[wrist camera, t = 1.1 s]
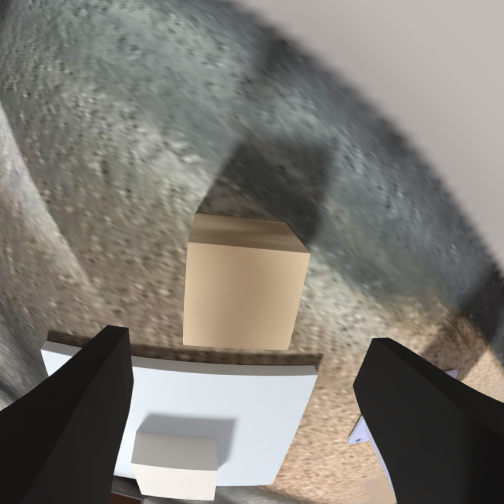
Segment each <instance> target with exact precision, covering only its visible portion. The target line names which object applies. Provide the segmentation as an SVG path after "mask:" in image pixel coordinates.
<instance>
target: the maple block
mask: <svg viewBox="0 0 504 504" xmlns="http://www.w3.org/2000/svg"><path fill="white" fill-rule="evenodd" d="M310 254H311V253H310V252H309V251H308V250H307V248H306V247H305V246H304V245H303V244H302V242H301V241H300V240H299V239H298V237H297V236H296V235H295V234H294V233H293V231H292V230H291V229H290V228H289V226H288V225H287V224H286V223H285V222H277V221H269V220H260V219H250V218H241V217H231V216H222V215H211V214H201V213H195V216H194V220H193V224H192V228H191V232H190V237H189V241H188V251H187V266H186V283H185V302H184V328H183V345H193V346H206V347H222V348H241V349H270V350H288V347H289V344H290V340H291V336H292V332H293V328H294V324H295V320H296V316H297V311H298V307H299V303H300V299H301V295H302V290H303V286H304V281H305V277H306V273H307V268H308V264H309V259H310Z"/></svg>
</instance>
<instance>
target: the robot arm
mask: <svg viewBox="0 0 504 504" xmlns="http://www.w3.org/2000/svg"><path fill="white" fill-rule="evenodd" d="M457 375H458V372H457V371H456V370H451V371H446V372H444V371H442V370H441V369H439V368H437V367H436V366H434V365H433V364H431V363H430V362H428V361H427V360H425V359H423V358H422V357H420V356H419V355H417V354H416V353H414V352H413V351H411V350H409V349H408V348H406V347H405V346H403V345H401V344H400V343H398V342H396V341H394V340H392V339H390V338H388V337H387V338H373V339H372V341H371V344H370V346H369V349H368V351H367V354H366V356H365V358H364V361H363V363H362V365H361V368H360V370H359V372H358V375H357V377H356V379H355V381H354V383H353V388H354V392H355V396H356V399H357V402H358V405H359V408H360V411H361V414H362V416H361V418H360V419H359V421H358V423H357V425H356V426H355V428H354V430H353V431H352V433H351V435H350V436H349V438H348V443H349V444H354V443H360V442H365V441H370V443H371V445H372V448H373V450H374V452H375V454H376V456H377V458H378V460H379V462H380V464H381V467H382V469H383V471H384V473H385V475H386V477H387V479H388V481H389V483H390V485H391V488H392V490H393V492H394V494H395V496H396V500H397V502H396V503H395V504H504V403H503V402H500V401H498V400H495V399H493V398H491V397H489V396H487V395H485V394H483V393H480V392H478V391H476V390H475V389H473V388H471V387H469V386H467V385H465V384H464V383H462V382H460V381H459V380H457V379H455V378H456V377H457ZM133 386H134V376H133V368H132V359H131V350H130V340H129V328H126V327H118V326H111V325H107V326H106V327H105V328H104V329H103V330H102V331H100V332H99V333H98V334H97V335H96V336H95V337H94V338H93V339H91V340H90V341H89V342H88V343H87V344H86V345H85V346H84V347H83V348H82V349H80V350H79V351H78V352H77V353H76V354H75V355H74V356H73V357H71V358H70V359H69V360H68V361H67V362H66V363H65V364H63V365H62V366H61V367H60V368H59V369H58V370H57V371H55V372H54V373H53V374H52V375H50V376H49V377H48V378H47V379H45V380H44V381H43V382H42V383H40V384H39V385H38V386H37V387H35V388H34V389H33V390H31V391H30V392H29V393H27V394H26V395H24V396H23V397H21V398H20V399H18V400H17V401H15V402H14V403H12V404H11V405H9V406H8V407H6V408H4V409H3V410H1V411H0V504H110V499H111V487H112V481H113V475H114V470H115V466H116V462H117V458H118V454H119V450H120V446H121V442H122V438H123V434H124V431H125V427H126V423H127V419H128V415H129V412H130V406H131V399H132V392H133Z"/></svg>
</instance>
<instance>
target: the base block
mask: <svg viewBox="0 0 504 504" xmlns="http://www.w3.org/2000/svg"><path fill="white" fill-rule="evenodd" d="M131 465H132V468H133V471H134V474H135V477H136V480H137V483H138V485H139V488H140V491H141V493H142V494H143V495H150V496H158V497H167V498H178V499H193V500H214V494H215V487H216V480H217V473H218V467H217V451H216V439H210V438H192V437H178V436H168V435H158V434H150V433H142V432H136V435H135V440H134V446H133V453H132V459H131Z"/></svg>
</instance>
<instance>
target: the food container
mask: <svg viewBox="0 0 504 504" xmlns="http://www.w3.org/2000/svg"><path fill="white" fill-rule="evenodd" d="M110 504H143V499H142V498H138V497H134V496H130V495H126V494H122V493H119V492H115V491H112V490H111V499H110Z"/></svg>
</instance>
